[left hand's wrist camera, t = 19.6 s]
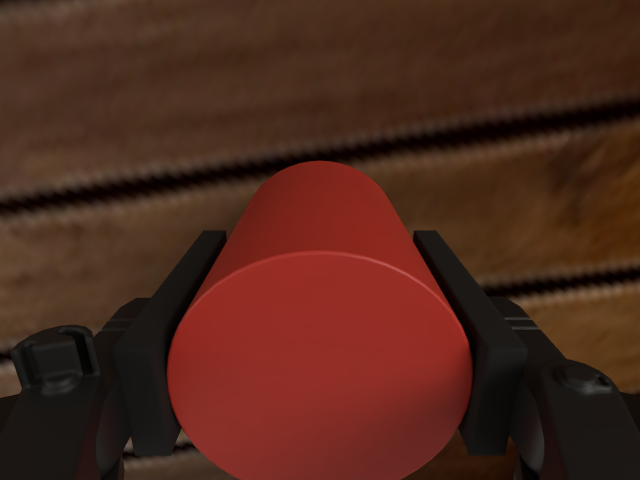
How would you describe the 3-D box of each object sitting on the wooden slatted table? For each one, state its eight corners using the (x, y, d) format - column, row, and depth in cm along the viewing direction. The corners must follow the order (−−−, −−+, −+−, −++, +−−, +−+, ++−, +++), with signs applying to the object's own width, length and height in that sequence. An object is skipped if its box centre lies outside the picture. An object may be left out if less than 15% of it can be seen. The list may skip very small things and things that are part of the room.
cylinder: (257, 312, 18) (205, 510, 10) (228, 171, 16) (125, 272, 7) (401, 296, 18) (472, 486, 9) (392, 150, 15) (476, 231, 7)
